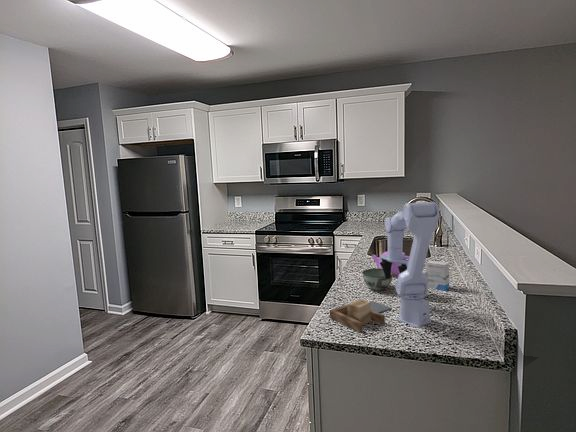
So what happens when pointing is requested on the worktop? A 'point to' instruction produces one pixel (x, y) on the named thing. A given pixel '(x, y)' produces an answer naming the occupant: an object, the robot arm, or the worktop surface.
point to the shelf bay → (356, 325)
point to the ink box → (438, 275)
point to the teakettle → (394, 265)
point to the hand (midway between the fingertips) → (395, 280)
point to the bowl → (376, 279)
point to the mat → (378, 307)
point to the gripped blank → (360, 310)
